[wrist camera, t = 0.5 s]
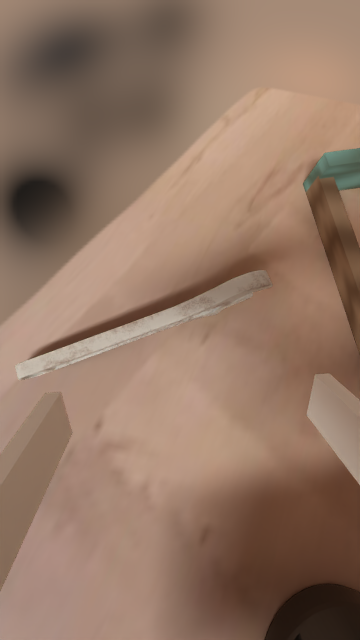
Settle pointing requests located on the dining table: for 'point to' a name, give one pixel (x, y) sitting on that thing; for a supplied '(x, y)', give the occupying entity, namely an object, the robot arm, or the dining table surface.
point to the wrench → (149, 324)
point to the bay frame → (338, 225)
